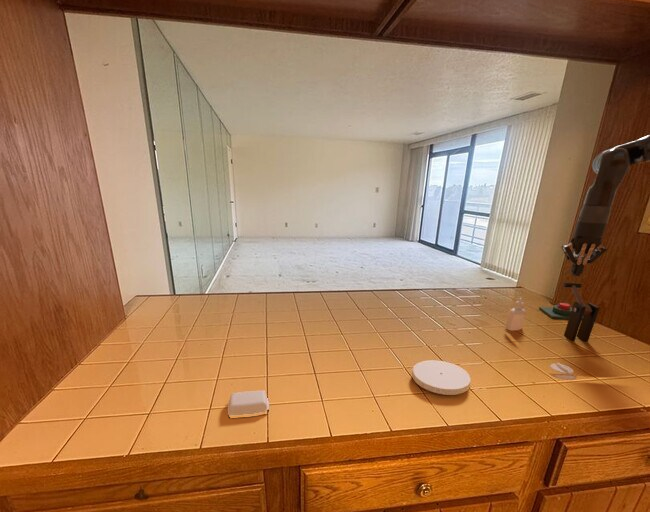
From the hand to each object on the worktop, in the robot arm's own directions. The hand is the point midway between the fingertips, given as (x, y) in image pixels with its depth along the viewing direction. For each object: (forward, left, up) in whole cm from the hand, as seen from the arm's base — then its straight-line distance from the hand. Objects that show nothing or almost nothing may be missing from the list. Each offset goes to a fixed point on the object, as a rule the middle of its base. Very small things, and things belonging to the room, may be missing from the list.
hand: (575, 275), depth 113 cm
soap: (+94, +56, -20) cm, 111 cm away
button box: (-7, -12, -20) cm, 24 cm away
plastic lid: (+49, +40, -20) cm, 66 cm away
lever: (0, +5, -7) cm, 9 cm away
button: (-7, -12, -16) cm, 21 cm away
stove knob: (+15, +31, -20) cm, 39 cm away
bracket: (0, +10, -20) cm, 22 cm away
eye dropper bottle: (+17, +4, -20) cm, 26 cm away
